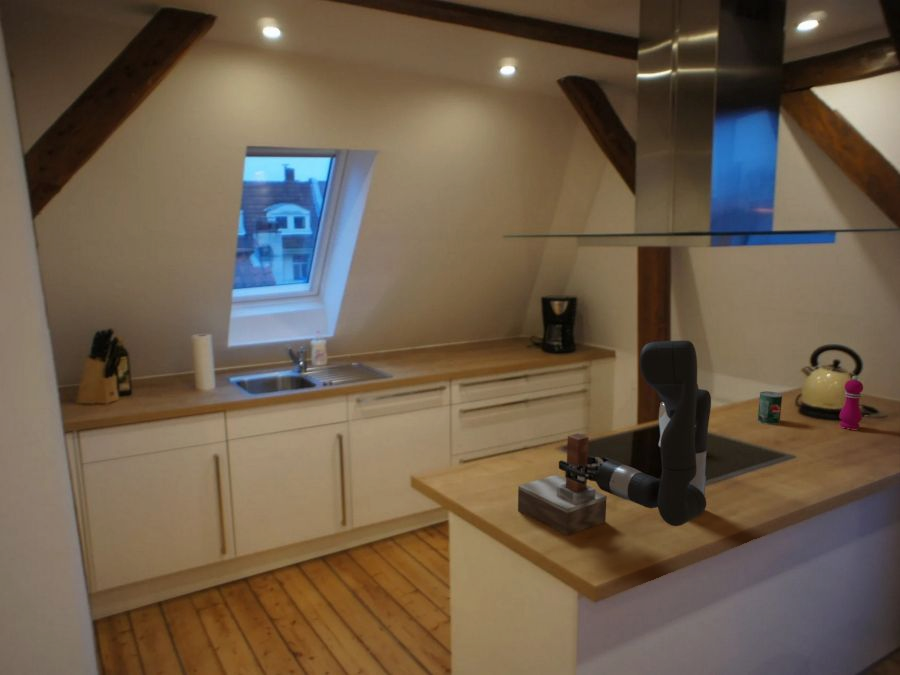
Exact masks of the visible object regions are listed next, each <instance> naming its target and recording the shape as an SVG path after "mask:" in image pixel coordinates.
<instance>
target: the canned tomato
mask: <svg viewBox="0 0 900 675" xmlns="http://www.w3.org/2000/svg"><path fill="white" fill-rule="evenodd" d="M758 400H759V402H758V411H757V422H759V421H760V422H759V423H761V422H763V423H762V424H765V423H767V424H766V425H779V424H780V423H781V414H782V412H781V411H782V403H783V402H782V400H783V394H781V393H779V392H777V391H776V392H775V391H766V390H765V391H760V392H759V399H758ZM778 423H779V424H778Z"/></svg>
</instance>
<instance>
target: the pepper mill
mask: <svg viewBox="0 0 900 675" xmlns="http://www.w3.org/2000/svg"><path fill="white" fill-rule="evenodd" d="M844 390H845V392H844V393H845V403H844V405H843V407H842V409H840V412H839V420H841V421H840V423H839V427H840V426H841V427H844V428H850V429H858V428H859V429H860V424H859V423H860V422H861V421H862V419H863V418H862V417H863V416H862V412H861V408H860V405H859V402H860V398H861V395H862V394H861V393H862V392H863V390H864V385H863V383H862V382H861V381H860V380H858V377H857V376H856V375H853V376H852V378H851V379H850V380H849V379H848V380H847V381H846V382H845V383H844ZM841 427H840V428H841Z"/></svg>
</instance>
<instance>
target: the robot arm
mask: <svg viewBox="0 0 900 675" xmlns="http://www.w3.org/2000/svg"><path fill="white" fill-rule="evenodd" d="M639 368H640V369H639V370H640V373H641V375H642V377H643V379H644V381H645V383H646V384H647V385H648V386H650V387H651V388H652V389H654V390H655V392H656V393H657V395H658V397H659V399H660V400H661V402H663V403H664V405H665V409H666V412H667V415H668V417H669V418H670V421H669V422H668V424H667V426H666V427H665V429H664V431H663V434H662V437H661V443H660V446H659V448H660V449H659V450H660V458H661V460H660V461H661V469H662V470H661V476H660V478H657V477H654V476H652V475H650V474H646V473H644V472H642V471H640V470H638V469H637V468H634V467H631V466H628V465H626V464H624V463H621V462H620V461H618V460H615V459H613V458H610V457H608V456H605V455H604V456H601V458H600V457H599V456H593V455H592V456H591V455H589V454H588V461H587V464H579V465H572V464H570V463H567V461H565V460H559V461H558V469H559V470H561V471H562V472H565V475H564V478H568V479H571V480H573V481H576V482H578V483H581V484H585V480H587V481H590V482H595V483H596V484H597V487H598V488H599V489H600V490H601V491H603V492H606V493H609V494H610V495H613V496H615V497H617V498H620V499H623V500H625V501H630V502H632V503H635V504H636V505H640V506H642V507H644V508H647V509H655V508H657V509H658V512H659V514H660V517H661V518H662V520H663V521H664V522H665V523H666V524H668V525H669V526H671V527H672V526H673V527H679V526H683V525H685V524H686V523H688V522H690V521H691V520H693V519H695V518H696V517H697V518H698V516H700V515H701V514H702V513H704V511H705V510H706V508H707V498H706V495H705V494H706V484H707V483H706V482H707V475H706V460H707V446H708V431H709V424H710V423H709V422H710V415H711V408H712V396H711V393H710V392H709V391H708V390H707V389H701V388H699V384H698V358H697V351H696V348H695V345H694V344H693V342H692V341H690V340H685V339H684V340H663V341H662V340H661V341H652V342H649V343H646V344H645V345H644V346H643V347H642V349H641V350H640V355H639ZM574 468H576V469H578V470H576V469H574ZM582 468H585V472H583V471H582Z"/></svg>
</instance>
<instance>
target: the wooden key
mask: <svg viewBox="0 0 900 675" xmlns="http://www.w3.org/2000/svg"><path fill="white" fill-rule="evenodd" d="M566 444H567V448H566V449H567V450H566V462H567V463H570V464H572V465H579V464H587V461H588V455H589V436H586V435H583V434H581V433H574V434H571V435H567V443H566ZM574 469H576V468H574ZM576 470H578V469H576ZM582 471H583V472H585V468H582ZM565 478H566V477H565ZM587 482H588V480H585V484H581V483H578V482H576V481H573V480H571V479H568V478H566V488H567V489H570V490H572V491H574V492H580V491H583V490H586V486H588V484H587Z"/></svg>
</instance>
